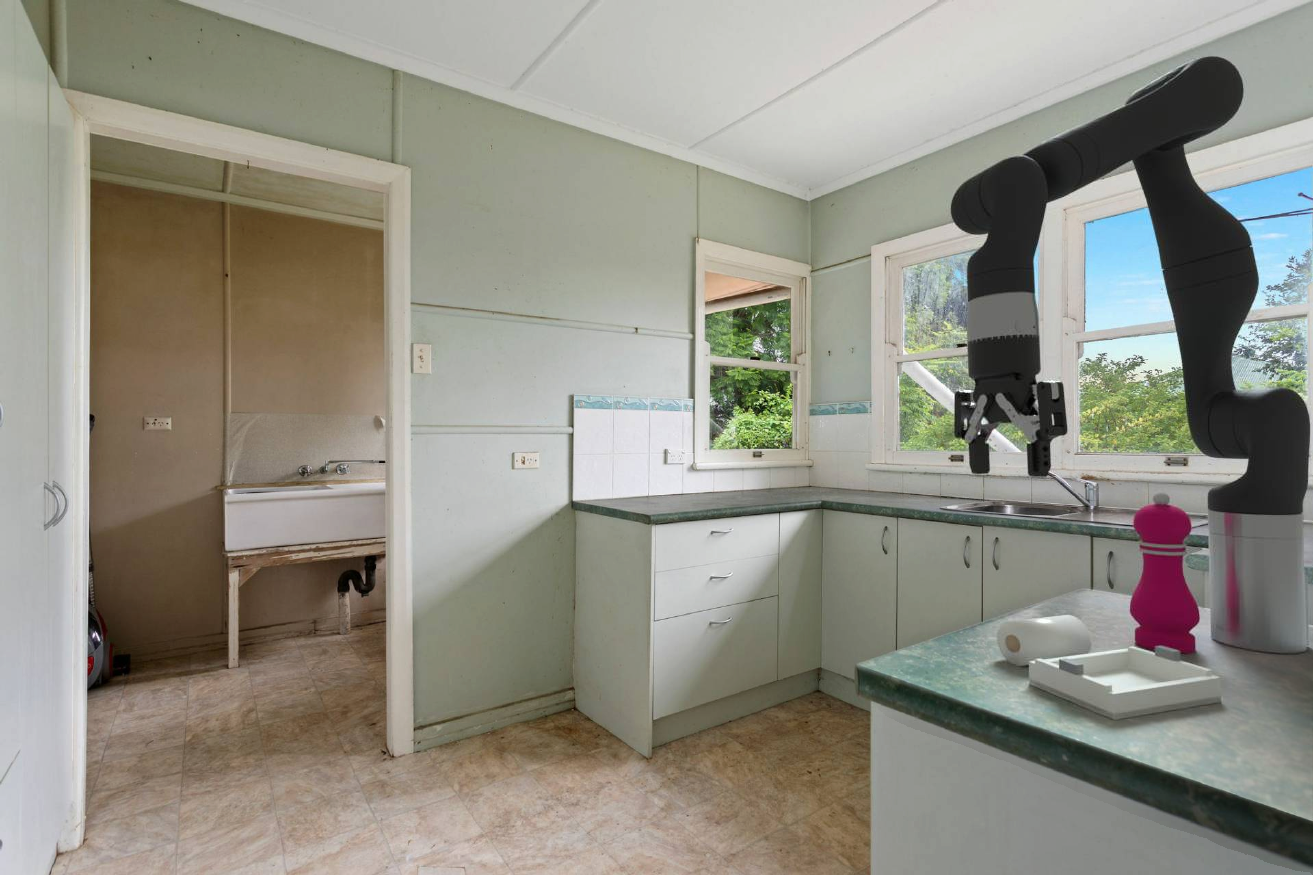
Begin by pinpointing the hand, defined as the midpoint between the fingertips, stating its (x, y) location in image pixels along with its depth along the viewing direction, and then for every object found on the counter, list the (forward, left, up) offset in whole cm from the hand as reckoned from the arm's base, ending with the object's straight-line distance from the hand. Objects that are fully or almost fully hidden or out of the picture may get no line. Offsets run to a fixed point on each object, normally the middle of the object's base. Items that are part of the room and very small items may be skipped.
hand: (1007, 475), depth 77 cm
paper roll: (-7, -2, -23) cm, 24 cm away
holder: (-6, +9, -23) cm, 25 cm away
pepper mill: (-26, -2, -23) cm, 35 cm away
